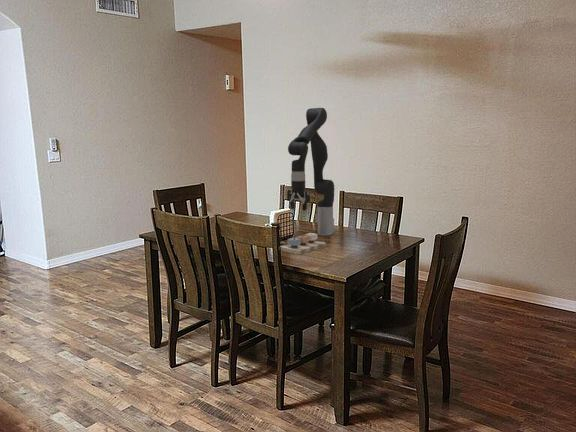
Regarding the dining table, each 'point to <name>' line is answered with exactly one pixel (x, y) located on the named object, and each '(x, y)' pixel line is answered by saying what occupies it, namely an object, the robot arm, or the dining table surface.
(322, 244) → the board
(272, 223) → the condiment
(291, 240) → the grey block
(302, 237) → the tile
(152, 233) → the dining table surface
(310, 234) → the light grey square block
